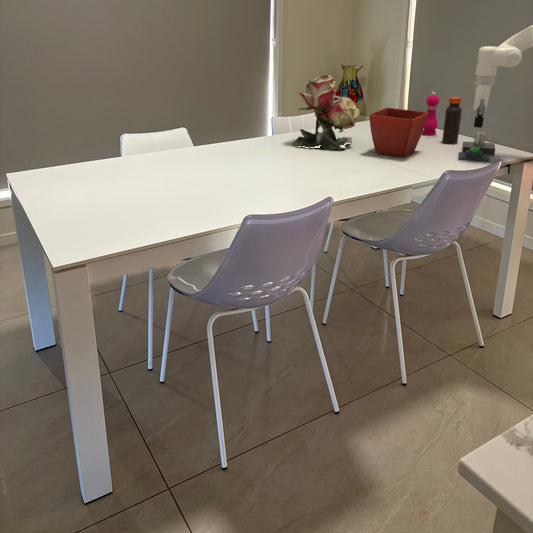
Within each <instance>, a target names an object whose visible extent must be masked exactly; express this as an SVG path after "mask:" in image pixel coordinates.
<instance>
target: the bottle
mask: <svg viewBox="0 0 533 533" xmlns="http://www.w3.org/2000/svg"><path fill="white" fill-rule="evenodd" d="M461 103H462V97H460V96H449V99H448V104H449V105H448V106H447V107H446V109H445V114H444V115H445V116H444V122H443V123H444V124H443V132H442V141H441V142H442V144H445V145H446V144H447V145H457V144H458V142H459V135H460V134H459V133H460V126H461V120H462V112H463V109H462V108H461V106H460V105H461Z"/></svg>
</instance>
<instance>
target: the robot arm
mask: <svg viewBox="0 0 533 533" xmlns="http://www.w3.org/2000/svg"><path fill="white" fill-rule="evenodd" d="M530 48H533V24H532V25H530V26H528V27H526V28H524V29H522V30H521V31H518V32H517V33H515V34H514V35H512V36H510V37H509V38H507V39H506V40H505V41H504V42H502V43H501V44H499V46H494V45H493V46H490V45H488V46H485V45H484V46H480V48H479V49H478V55H477V61H476V62H477V63H476V71H475V76H474V83H473V84H474V85H476V87H475V92H474V100H473V110H474V111H476V112H475V116H474V122H473V127H474V128H480V129H481V128H483V124H484V118H485V117H484V116H485V111H487V110H488V104H489V101H490V94H491V90H492V86H494V85H495V83H496V76H497V72H498V67H503V68H514V67H516V66H518V65H519V64H520V63H521V61H522V58H523V53H524V51H526V50H528V49H530ZM522 52H523V53H522Z"/></svg>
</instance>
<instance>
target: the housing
mask: <svg viewBox="0 0 533 533" xmlns="http://www.w3.org/2000/svg"><path fill="white" fill-rule="evenodd" d="M457 158H458V159H457V160H458V161H465V162H478V163H479V162H481V163H482V162H483V163H490V155H489V154H483V151H480V150H479V153H473V152H470V150H466V153H465V152H462V151H458V157H457Z"/></svg>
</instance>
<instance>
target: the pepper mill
mask: <svg viewBox="0 0 533 533" xmlns="http://www.w3.org/2000/svg"><path fill="white" fill-rule="evenodd" d="M425 103H426V112H428V116H427V120H426V123H425V126H424V129H423V132H422V134H421V135H424V136H428V137H429V136H430V137H431V136H436V134H437V128H438V126H439V123H438V119H437V109H438V105H439V103H440V98H439V96H438V95H436V91H432V92H431V95H430V94H429V95H428V96H427V97H426V99H425Z"/></svg>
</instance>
